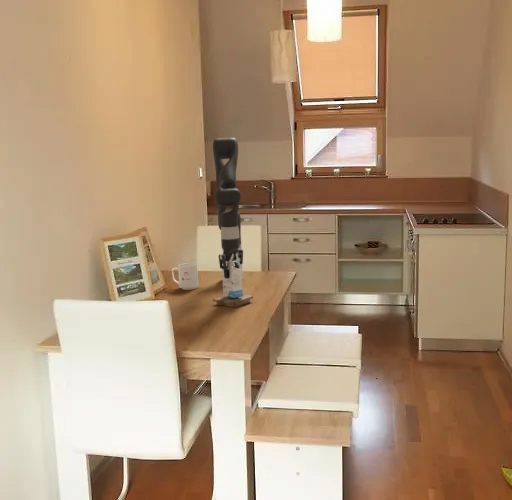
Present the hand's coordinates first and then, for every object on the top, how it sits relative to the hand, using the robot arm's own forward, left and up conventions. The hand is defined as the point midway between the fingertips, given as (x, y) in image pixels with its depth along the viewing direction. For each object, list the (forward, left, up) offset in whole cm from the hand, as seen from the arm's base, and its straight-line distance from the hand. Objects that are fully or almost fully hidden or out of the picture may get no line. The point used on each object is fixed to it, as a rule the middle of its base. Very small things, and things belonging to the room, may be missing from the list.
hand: (232, 276), depth 282 cm
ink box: (0, 0, -8) cm, 8 cm away
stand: (0, 0, -11) cm, 11 cm away
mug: (-38, +13, -12) cm, 42 cm away
